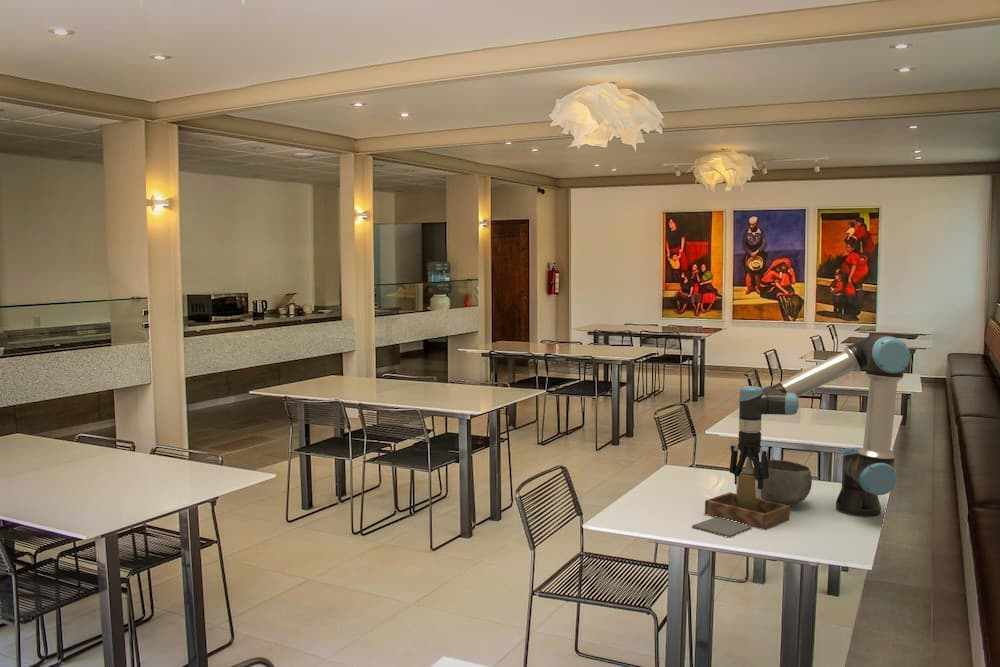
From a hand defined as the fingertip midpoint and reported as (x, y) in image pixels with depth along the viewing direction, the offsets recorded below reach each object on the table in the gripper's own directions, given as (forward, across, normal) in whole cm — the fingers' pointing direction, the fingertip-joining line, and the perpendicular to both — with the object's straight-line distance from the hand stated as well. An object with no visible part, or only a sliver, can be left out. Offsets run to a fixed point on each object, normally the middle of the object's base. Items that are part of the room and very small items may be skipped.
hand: (748, 495), depth 290 cm
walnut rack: (+8, 0, 0) cm, 8 cm away
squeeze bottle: (+5, 0, 0) cm, 5 cm away
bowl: (+8, 0, +25) cm, 26 cm away
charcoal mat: (+8, +1, -18) cm, 20 cm away
